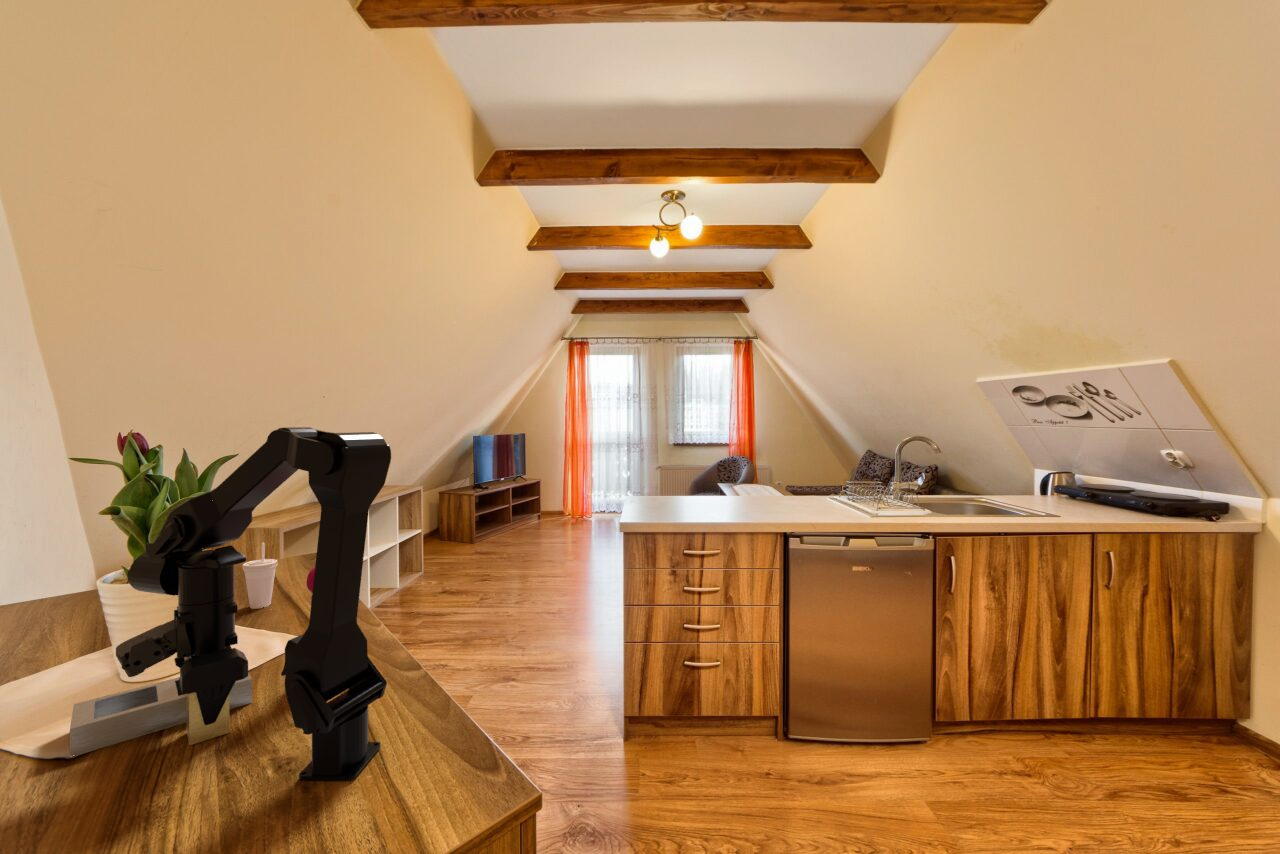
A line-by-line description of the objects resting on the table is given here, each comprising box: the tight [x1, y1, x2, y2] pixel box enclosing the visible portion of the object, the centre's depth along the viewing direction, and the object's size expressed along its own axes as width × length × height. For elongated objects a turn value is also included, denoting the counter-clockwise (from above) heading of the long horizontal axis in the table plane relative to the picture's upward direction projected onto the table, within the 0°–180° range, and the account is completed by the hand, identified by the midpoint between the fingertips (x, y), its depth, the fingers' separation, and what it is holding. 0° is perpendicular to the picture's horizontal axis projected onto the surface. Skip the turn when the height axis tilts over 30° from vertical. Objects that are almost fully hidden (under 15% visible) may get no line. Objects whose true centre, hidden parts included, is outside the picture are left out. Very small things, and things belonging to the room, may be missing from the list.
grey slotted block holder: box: [69, 671, 253, 757], centre depth 73 cm, size 18×8×7 cm, turn 135°
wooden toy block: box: [185, 692, 230, 746], centre depth 69 cm, size 4×4×7 cm
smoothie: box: [242, 541, 279, 610], centre depth 118 cm, size 6×6×14 cm
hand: (207, 716), depth 69 cm, fingers closed on wooden toy block, 4 cm apart
